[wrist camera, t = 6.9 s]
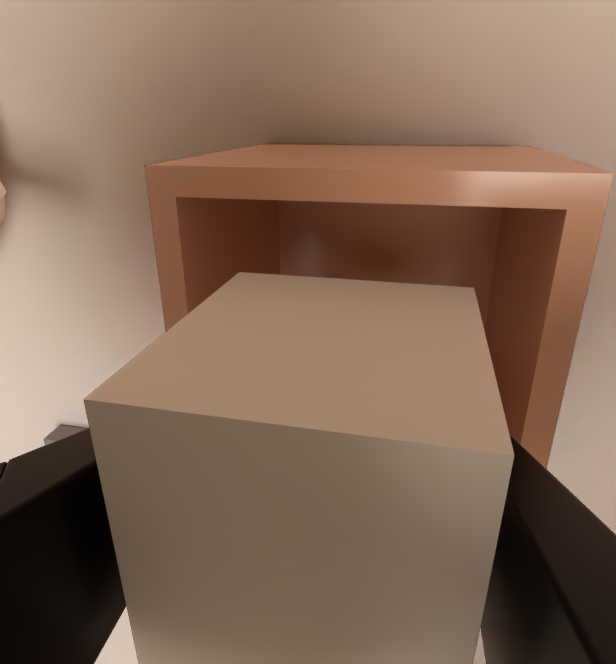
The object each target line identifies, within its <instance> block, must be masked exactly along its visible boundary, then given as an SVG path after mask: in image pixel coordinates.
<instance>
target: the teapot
mask: <svg viewBox="0 0 616 664" xmlns="http://www.w3.org/2000/svg"><path fill="white" fill-rule="evenodd" d="M5 194H6V190H5V188H4V187H3V185H2V183H1V182H0V224H1V223H2V221H3V220H4V217H5V212H6V210H5Z"/></svg>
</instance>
